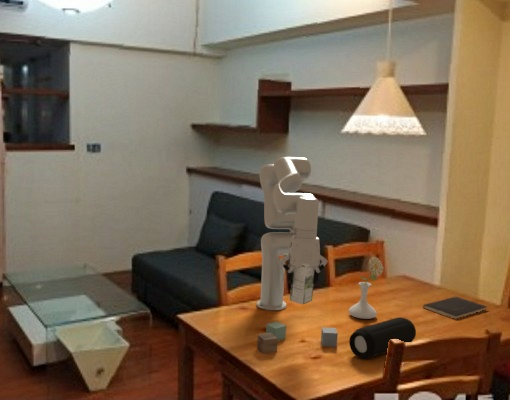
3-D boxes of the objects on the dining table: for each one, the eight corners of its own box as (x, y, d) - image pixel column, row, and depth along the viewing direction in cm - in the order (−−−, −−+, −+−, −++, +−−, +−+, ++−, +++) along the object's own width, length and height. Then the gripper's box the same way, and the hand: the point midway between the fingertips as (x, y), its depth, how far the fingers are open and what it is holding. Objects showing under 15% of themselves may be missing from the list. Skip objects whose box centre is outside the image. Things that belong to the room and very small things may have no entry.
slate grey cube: (320, 340, 190) (321, 327, 190) (334, 341, 190) (335, 328, 190) (322, 346, 185) (323, 332, 185) (336, 347, 185) (337, 333, 185)
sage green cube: (265, 337, 191) (266, 324, 190) (276, 334, 194) (276, 321, 194) (275, 342, 187) (275, 328, 187) (285, 339, 190) (286, 325, 190)
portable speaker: (368, 365, 172) (370, 335, 171) (346, 354, 180) (348, 325, 179) (416, 348, 188) (419, 321, 186) (394, 338, 195) (396, 312, 194)
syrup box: (298, 296, 187) (301, 257, 185) (312, 301, 184) (315, 260, 181) (289, 300, 183) (291, 260, 181) (303, 305, 179) (306, 263, 177)
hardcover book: (486, 311, 231) (487, 306, 231) (455, 320, 218) (456, 315, 217) (454, 300, 244) (454, 296, 244) (422, 309, 231) (423, 304, 230)
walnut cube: (257, 348, 181) (257, 334, 181) (270, 346, 183) (271, 332, 183) (263, 354, 177) (264, 340, 176) (276, 352, 179) (277, 338, 178)
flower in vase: (356, 322, 210) (360, 260, 206) (343, 312, 221) (347, 253, 217) (385, 320, 213) (390, 259, 210) (371, 310, 224) (376, 252, 221)
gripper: (282, 235, 175) (279, 286, 177) (333, 236, 177) (329, 286, 180) (278, 230, 182) (275, 279, 185) (327, 231, 185) (323, 279, 187)
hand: (302, 282), depth 182 cm, fingers closed on syrup box, 8 cm apart
